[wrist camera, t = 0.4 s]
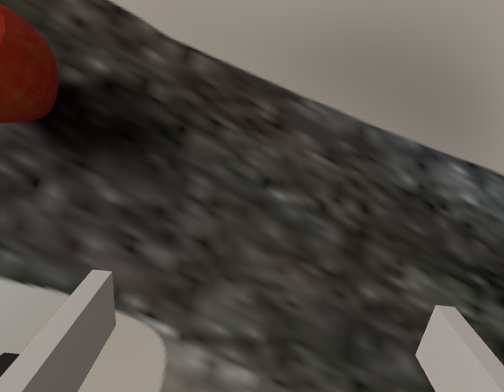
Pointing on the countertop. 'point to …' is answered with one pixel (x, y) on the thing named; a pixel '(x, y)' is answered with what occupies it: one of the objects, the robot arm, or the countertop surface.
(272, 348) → the countertop surface
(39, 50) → the apple
